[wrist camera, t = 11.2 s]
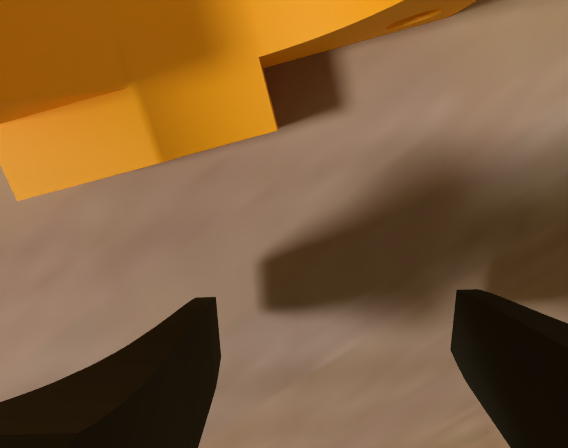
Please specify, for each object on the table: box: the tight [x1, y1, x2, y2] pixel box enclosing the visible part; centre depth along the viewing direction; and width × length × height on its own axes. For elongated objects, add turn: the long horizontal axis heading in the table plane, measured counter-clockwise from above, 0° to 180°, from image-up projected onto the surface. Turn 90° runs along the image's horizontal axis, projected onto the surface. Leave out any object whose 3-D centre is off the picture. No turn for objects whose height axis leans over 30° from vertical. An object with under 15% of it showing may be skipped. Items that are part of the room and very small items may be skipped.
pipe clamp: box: [0, 0, 477, 201], centre depth 8 cm, size 12×4×6 cm, turn 104°
